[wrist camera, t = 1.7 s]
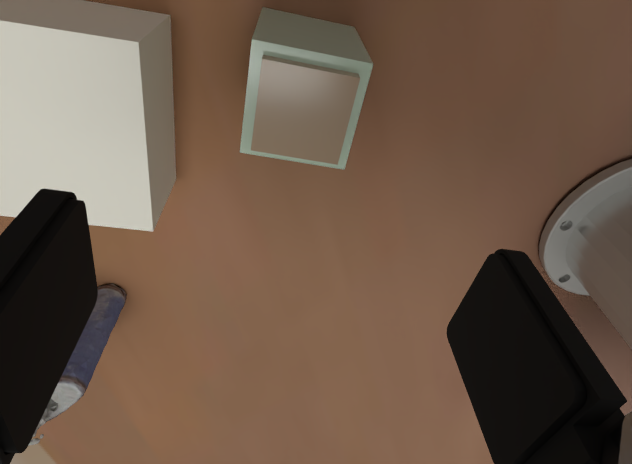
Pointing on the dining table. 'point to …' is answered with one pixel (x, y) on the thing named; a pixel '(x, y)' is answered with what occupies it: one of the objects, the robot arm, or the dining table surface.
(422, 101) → the dining table surface
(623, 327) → the robot arm
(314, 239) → the dining table surface
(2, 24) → the cream box
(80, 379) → the flask
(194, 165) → the dining table surface
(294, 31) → the open sage green box
